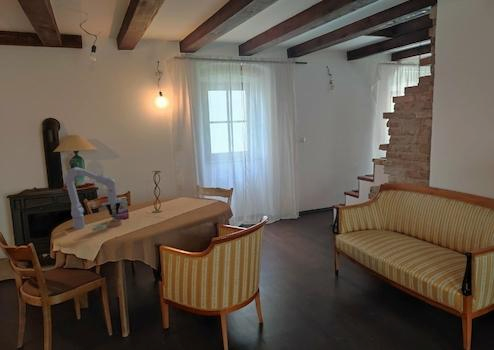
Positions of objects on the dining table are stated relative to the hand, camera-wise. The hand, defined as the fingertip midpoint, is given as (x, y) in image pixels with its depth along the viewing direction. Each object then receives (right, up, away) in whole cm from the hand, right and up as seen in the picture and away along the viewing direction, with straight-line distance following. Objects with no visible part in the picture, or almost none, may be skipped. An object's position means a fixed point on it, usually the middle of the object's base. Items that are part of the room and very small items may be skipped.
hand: (113, 214), depth 265 cm
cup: (0, -9, +1) cm, 9 cm away
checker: (-9, -10, -5) cm, 14 cm away
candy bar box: (-2, -6, +20) cm, 21 cm away
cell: (0, -2, 0) cm, 2 cm away
